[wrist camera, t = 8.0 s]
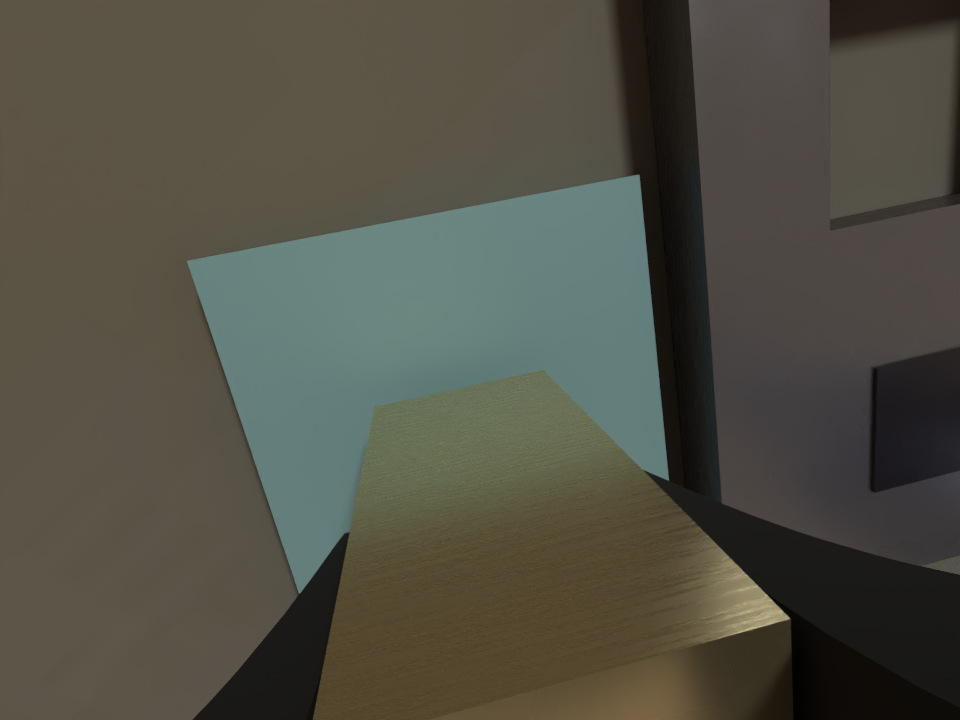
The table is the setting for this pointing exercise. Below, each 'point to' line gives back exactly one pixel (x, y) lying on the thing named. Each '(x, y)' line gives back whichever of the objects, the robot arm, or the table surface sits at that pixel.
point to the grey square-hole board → (800, 293)
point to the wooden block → (536, 578)
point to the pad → (430, 335)
